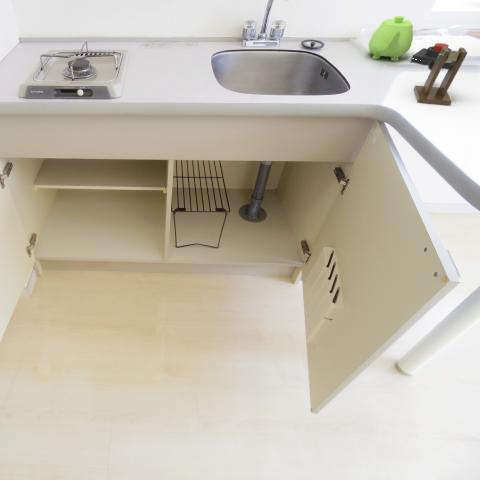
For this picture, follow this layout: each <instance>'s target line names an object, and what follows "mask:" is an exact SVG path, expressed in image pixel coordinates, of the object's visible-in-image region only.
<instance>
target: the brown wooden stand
mask: <svg viewBox="0 0 480 480" xmlns="http://www.w3.org/2000/svg"><path fill="white" fill-rule="evenodd" d="M448 48H449V47H448ZM448 48H447V47H442V49H441V51H440V53H439V55H438V57H437V59H436V62H435V64H434V66H433V68H432V70H430V71H429V74H428V76H427V78H426V81H425V83H424V84H423V85H414V86H413V89H412V90H413V93H414V96H415V98H416V99H415V100H416V102H417V104H418V103H419V104H427V105H428V104H429V105H441V106H451V104H452V103H453V100H452V99H451V97H450V94H449V91H448V90H449V89H450V88H451V87H450V86H451V85H452V83H453V81H454V80H455V77H456V75H457V74H458V72H459V70H460V68H461V66H462V64H463V63H464V60H465V59H466V57H467V55H468V51H467V50H466V48H465V47H459V48H458V50H457V51H460V52H459V55H458V58H457V60H456V61H455V62H453V63H452V64H451V66H450V67H449V69H447V72H446V73H445V75H444V77H443V79H442V81H441V83H440V85H439V86H434V84H435V83H436V80H437V78H438V76H439V74H440V72H441V71H442V69H443V68H442V66H443V64H444V62H445V60H446V58H447V56H448V54H449V50H448Z"/></svg>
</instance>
